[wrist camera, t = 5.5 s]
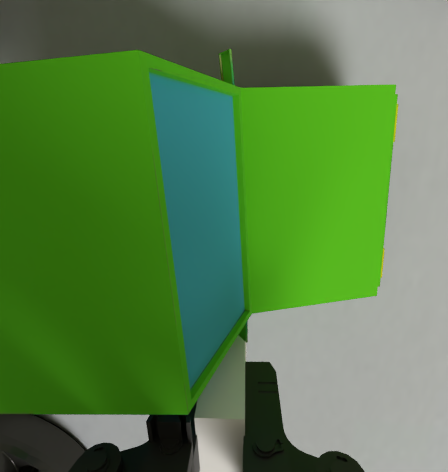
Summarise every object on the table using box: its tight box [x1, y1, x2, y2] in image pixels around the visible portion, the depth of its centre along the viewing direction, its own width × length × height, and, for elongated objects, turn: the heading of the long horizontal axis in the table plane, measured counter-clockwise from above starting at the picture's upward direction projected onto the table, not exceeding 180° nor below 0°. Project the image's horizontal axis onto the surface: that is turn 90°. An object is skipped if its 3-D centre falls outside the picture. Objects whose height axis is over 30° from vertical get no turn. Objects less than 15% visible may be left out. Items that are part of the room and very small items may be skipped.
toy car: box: [0, 49, 398, 415], centre depth 11 cm, size 10×13×10 cm
